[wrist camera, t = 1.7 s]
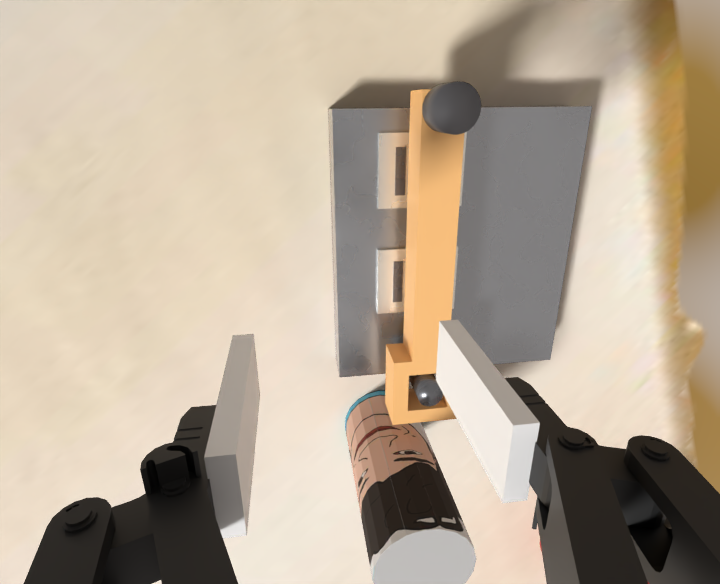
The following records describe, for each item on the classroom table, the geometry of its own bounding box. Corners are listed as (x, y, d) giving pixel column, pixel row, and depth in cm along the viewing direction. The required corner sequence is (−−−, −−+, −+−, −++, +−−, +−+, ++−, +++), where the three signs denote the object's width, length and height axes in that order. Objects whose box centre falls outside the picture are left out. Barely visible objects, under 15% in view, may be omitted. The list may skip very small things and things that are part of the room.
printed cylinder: (415, 384, 42) (476, 520, 28) (417, 444, 45) (475, 594, 31) (341, 396, 42) (368, 540, 28) (348, 455, 44) (376, 614, 30)
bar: (448, 396, 37) (471, 437, 33) (385, 402, 37) (399, 445, 32) (471, 85, 29) (507, 81, 24) (389, 85, 28) (409, 81, 24)
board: (328, 108, 33) (340, 109, 25) (568, 106, 35) (642, 106, 28) (336, 358, 40) (347, 415, 33) (533, 342, 42) (584, 392, 35)
